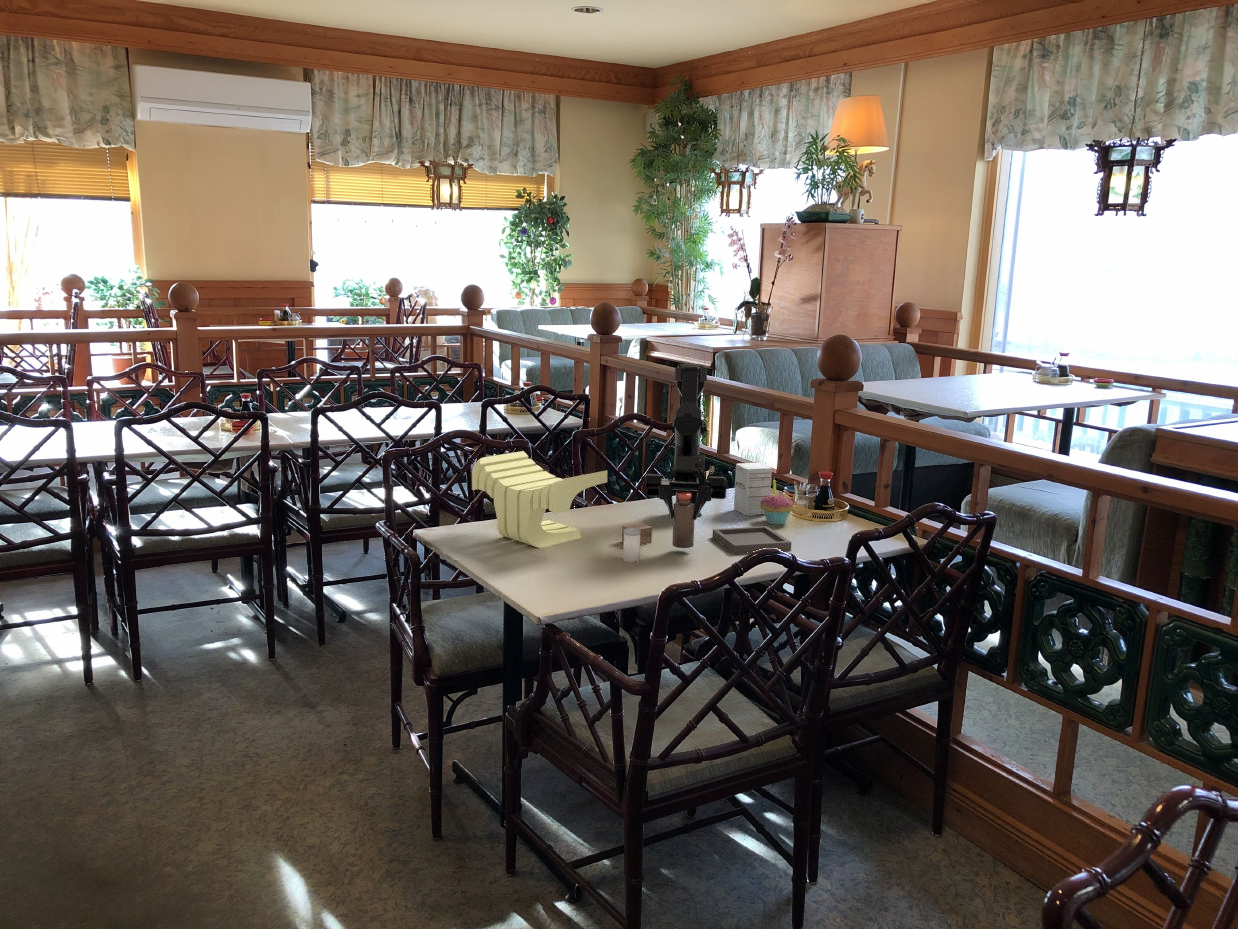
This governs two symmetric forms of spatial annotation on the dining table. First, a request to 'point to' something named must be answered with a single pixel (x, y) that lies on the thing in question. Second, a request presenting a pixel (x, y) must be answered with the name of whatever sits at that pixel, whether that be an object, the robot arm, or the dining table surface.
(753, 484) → the supplement box
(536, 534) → the slatted curved stool
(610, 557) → the dining table surface
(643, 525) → the walnut block
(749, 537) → the tray
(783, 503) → the cupcake
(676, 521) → the soy bottle
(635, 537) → the salt shaker
